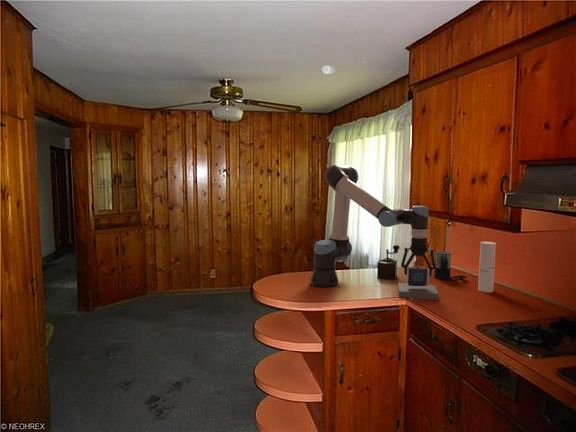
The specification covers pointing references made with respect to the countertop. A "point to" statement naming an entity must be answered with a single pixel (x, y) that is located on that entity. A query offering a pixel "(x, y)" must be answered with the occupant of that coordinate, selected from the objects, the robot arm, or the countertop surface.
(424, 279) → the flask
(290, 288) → the countertop surface
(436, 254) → the milk frother
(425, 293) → the base board
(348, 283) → the countertop surface
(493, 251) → the cylindrical container
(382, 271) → the coffee grinder
